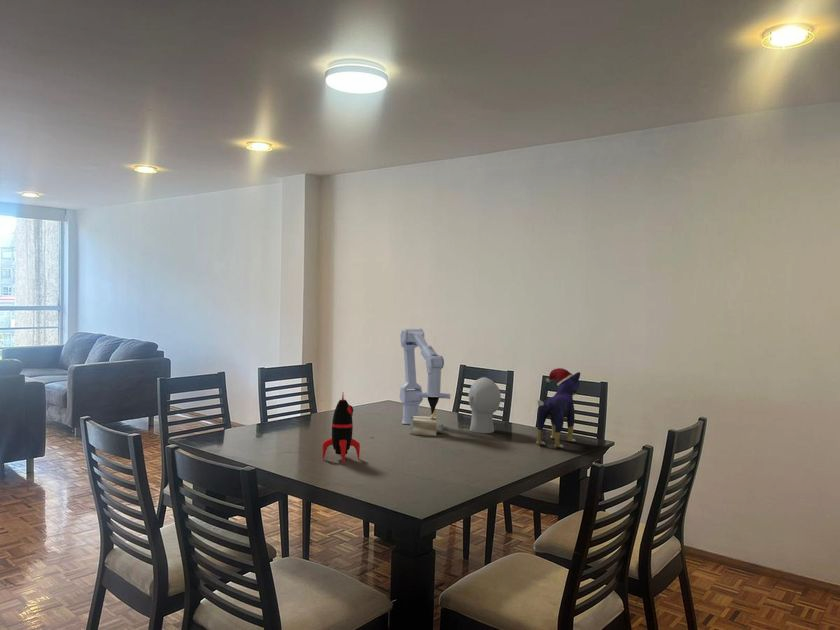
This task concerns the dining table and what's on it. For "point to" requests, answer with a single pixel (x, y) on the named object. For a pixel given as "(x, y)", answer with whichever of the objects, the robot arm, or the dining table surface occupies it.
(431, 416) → the keeper flap
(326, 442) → the toy rocket
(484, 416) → the head
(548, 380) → the toy
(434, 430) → the block
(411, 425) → the silver metal piece
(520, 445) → the dining table surface
